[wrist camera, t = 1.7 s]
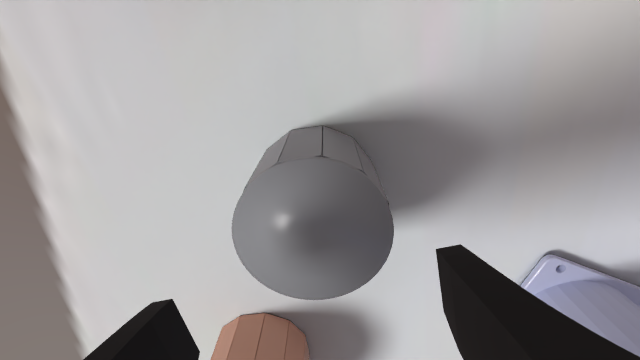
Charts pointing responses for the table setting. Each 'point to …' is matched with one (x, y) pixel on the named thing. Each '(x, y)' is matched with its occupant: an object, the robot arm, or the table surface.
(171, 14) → the table surface
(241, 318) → the peach domed cylinder
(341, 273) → the gray domed cylinder
